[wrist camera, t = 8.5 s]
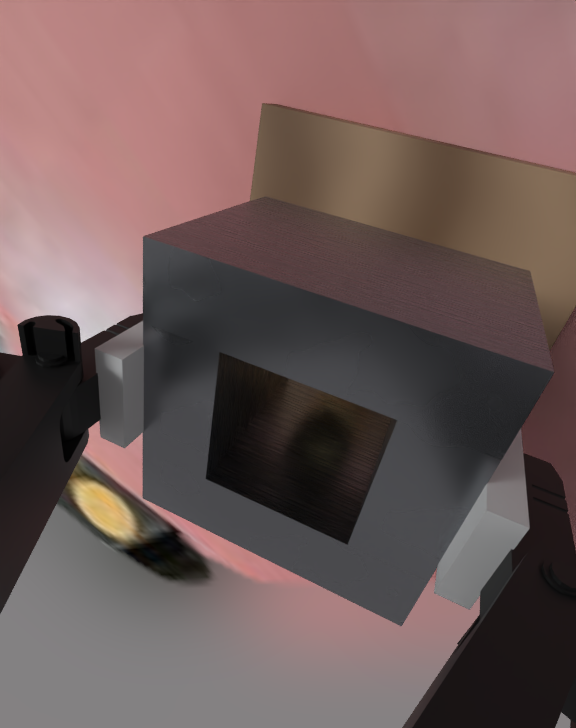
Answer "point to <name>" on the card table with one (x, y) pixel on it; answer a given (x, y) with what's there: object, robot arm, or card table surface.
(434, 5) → the card table surface
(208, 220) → the grey hollow square block
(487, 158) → the board
